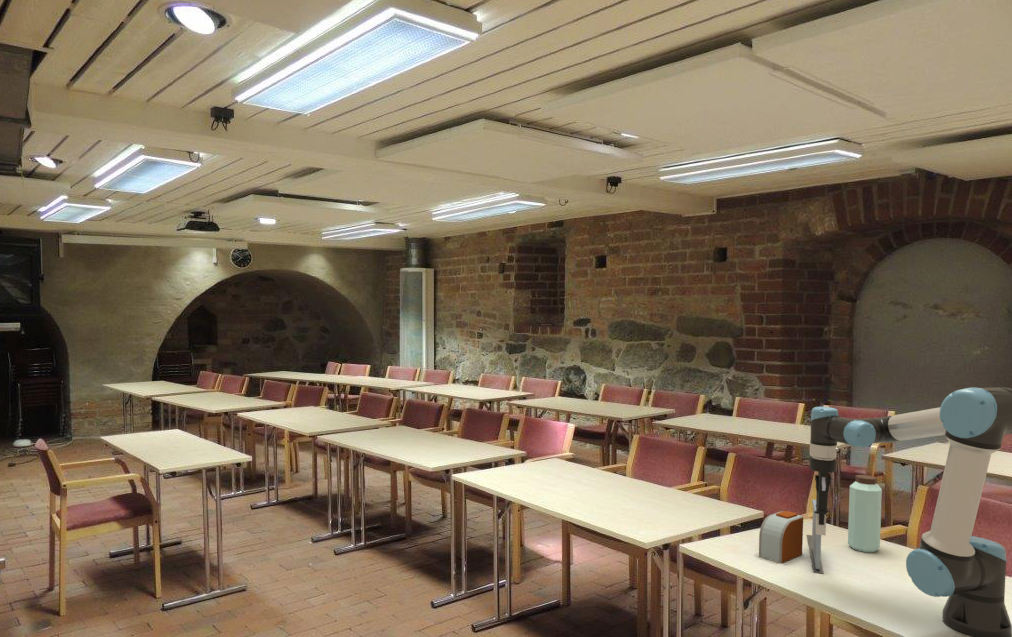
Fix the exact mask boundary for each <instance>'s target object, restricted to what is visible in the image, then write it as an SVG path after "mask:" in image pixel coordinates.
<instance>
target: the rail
mask: <svg viewBox="0 0 1012 637" xmlns="http://www.w3.org/2000/svg"><path fill="white" fill-rule="evenodd" d="M806 540H807V547H808V551H809V552H808V553H809V555H810V556H809V557H810V562H811V568H812V573H815V574H822V575H823V574H825V573H824V569H823V563H822V559H821V558H822V557H820V569H816V566H815V561H814V556H813V551H812V534H806Z"/></svg>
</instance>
